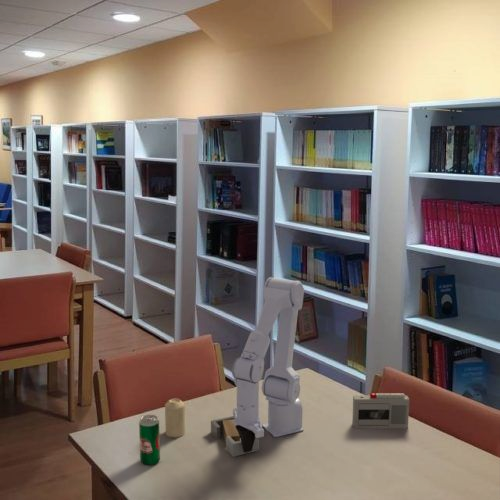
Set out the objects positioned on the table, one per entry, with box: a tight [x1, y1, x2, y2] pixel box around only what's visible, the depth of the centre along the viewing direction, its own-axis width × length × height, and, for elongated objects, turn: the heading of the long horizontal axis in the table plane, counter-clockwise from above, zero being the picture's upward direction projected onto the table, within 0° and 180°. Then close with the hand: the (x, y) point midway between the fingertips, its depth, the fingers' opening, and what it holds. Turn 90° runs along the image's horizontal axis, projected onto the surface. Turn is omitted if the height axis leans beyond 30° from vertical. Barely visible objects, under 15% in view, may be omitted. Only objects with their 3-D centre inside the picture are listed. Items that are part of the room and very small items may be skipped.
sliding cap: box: [225, 436, 260, 457], centre depth 162 cm, size 8×4×4 cm, turn 116°
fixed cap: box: [210, 415, 236, 440], centre depth 171 cm, size 8×4×4 cm, turn 116°
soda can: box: [138, 414, 161, 467], centre depth 155 cm, size 5×5×12 cm
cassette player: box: [351, 392, 410, 429], centre depth 175 cm, size 16×3×10 cm, turn 90°
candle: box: [164, 397, 186, 438], centre depth 171 cm, size 6×6×10 cm
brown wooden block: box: [221, 419, 241, 443], centre depth 168 cm, size 4×10×4 cm, turn 10°
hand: (247, 451), depth 159 cm, fingers closed
